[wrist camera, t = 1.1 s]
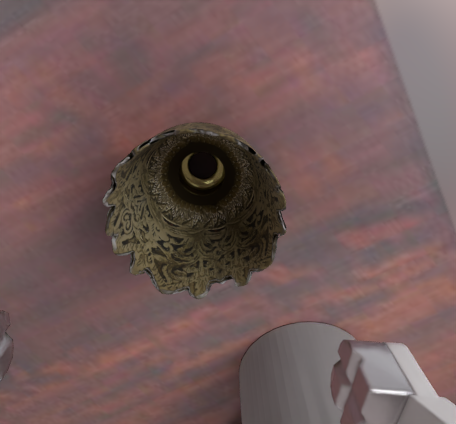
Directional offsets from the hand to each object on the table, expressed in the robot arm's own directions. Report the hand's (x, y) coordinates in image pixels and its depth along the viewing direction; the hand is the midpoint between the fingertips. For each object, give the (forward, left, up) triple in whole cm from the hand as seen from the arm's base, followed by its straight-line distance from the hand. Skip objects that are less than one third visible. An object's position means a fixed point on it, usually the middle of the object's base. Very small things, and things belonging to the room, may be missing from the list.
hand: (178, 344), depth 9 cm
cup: (0, 0, -15) cm, 15 cm away
